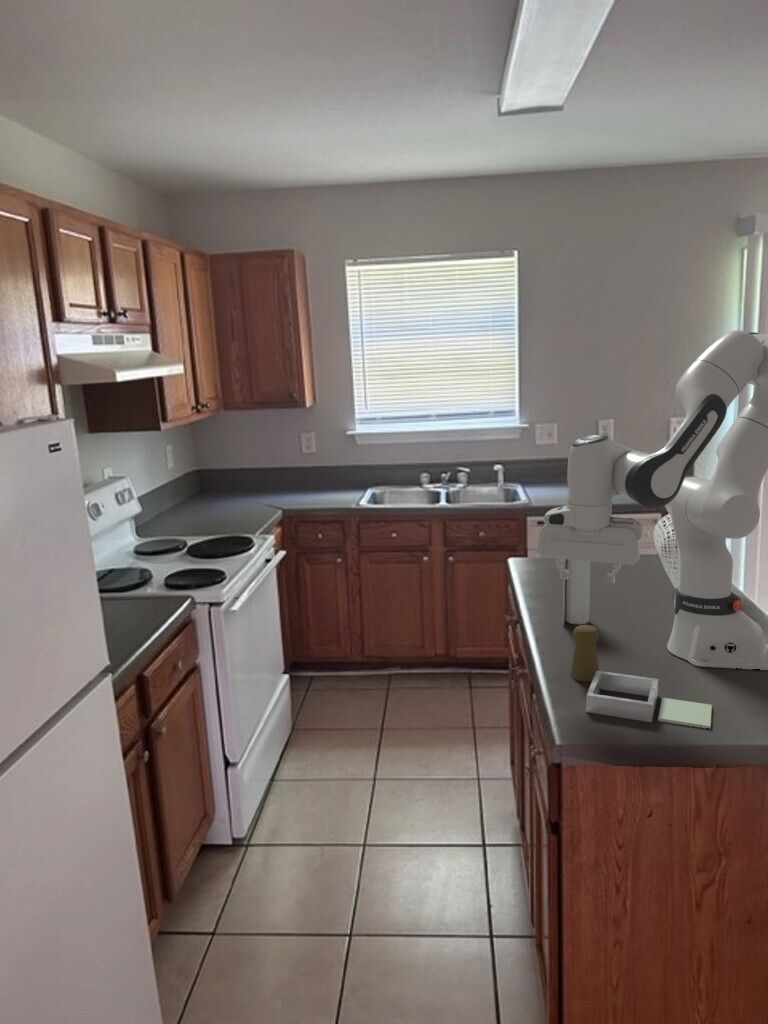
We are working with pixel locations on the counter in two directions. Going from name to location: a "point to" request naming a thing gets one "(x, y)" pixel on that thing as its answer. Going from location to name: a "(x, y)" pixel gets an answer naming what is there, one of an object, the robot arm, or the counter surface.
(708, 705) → the green pad
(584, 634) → the olive green rounded piece
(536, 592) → the counter surface
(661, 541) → the heart
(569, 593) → the paper towel roll
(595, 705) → the frame
